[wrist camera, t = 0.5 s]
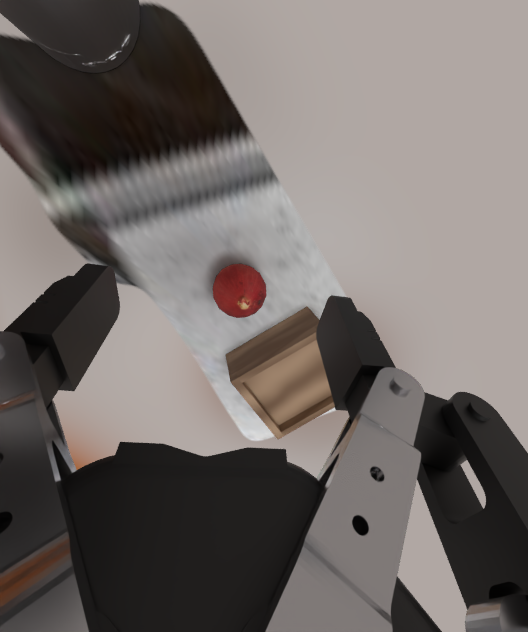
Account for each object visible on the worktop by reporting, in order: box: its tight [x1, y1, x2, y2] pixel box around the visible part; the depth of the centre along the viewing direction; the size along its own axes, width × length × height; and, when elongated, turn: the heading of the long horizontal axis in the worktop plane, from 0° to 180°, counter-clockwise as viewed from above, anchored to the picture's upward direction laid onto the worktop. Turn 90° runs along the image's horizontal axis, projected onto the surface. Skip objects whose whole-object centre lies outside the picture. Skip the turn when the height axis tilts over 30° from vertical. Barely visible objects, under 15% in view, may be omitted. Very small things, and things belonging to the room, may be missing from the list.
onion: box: [213, 264, 266, 318], centre depth 30 cm, size 6×6×8 cm
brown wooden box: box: [226, 307, 335, 439], centre depth 39 cm, size 13×13×6 cm
